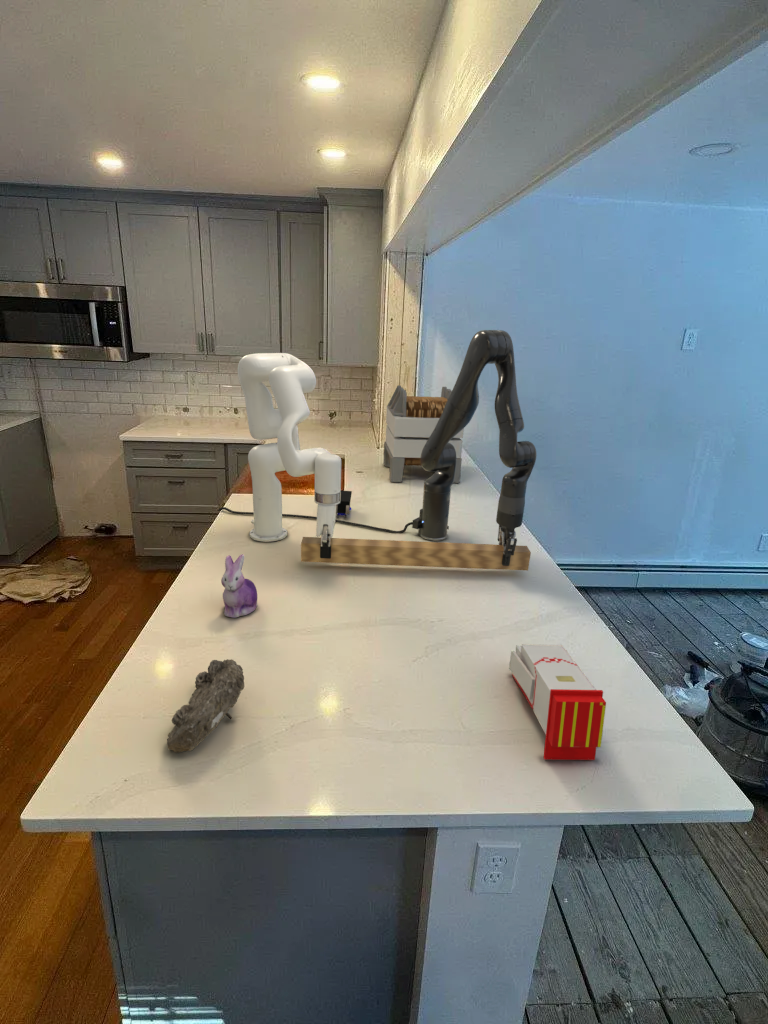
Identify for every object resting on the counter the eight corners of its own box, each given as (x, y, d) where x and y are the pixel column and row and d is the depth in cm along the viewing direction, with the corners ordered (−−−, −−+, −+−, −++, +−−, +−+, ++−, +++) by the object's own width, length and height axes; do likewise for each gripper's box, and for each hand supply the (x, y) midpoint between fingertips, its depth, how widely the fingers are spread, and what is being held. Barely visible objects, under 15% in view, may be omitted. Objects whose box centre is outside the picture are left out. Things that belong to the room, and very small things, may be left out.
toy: (558, 627, 126) (616, 698, 97) (552, 682, 129) (607, 767, 99) (504, 626, 126) (545, 697, 96) (499, 681, 128) (538, 766, 99)
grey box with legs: (382, 463, 289) (386, 382, 275) (445, 464, 293) (451, 384, 279) (390, 482, 257) (394, 392, 243) (460, 483, 261) (468, 394, 247)
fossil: (192, 660, 117) (244, 628, 112) (224, 691, 120) (276, 661, 115) (142, 746, 98) (202, 712, 93) (182, 779, 101) (242, 748, 96)
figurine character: (350, 524, 210) (352, 506, 224) (350, 505, 207) (352, 488, 220) (332, 523, 210) (335, 505, 224) (332, 505, 207) (335, 488, 220)
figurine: (226, 622, 140) (223, 567, 134) (217, 603, 148) (214, 551, 143) (264, 615, 144) (262, 561, 139) (253, 597, 152) (251, 545, 147)
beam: (524, 563, 175) (526, 545, 172) (528, 570, 170) (530, 552, 168) (303, 554, 173) (302, 536, 171) (301, 561, 168) (301, 543, 166)
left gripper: (317, 487, 171) (316, 542, 178) (311, 506, 156) (310, 566, 162) (342, 488, 172) (340, 543, 178) (338, 507, 156) (336, 567, 162)
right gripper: (493, 500, 172) (486, 551, 178) (503, 517, 159) (495, 571, 165) (517, 501, 172) (510, 552, 178) (529, 518, 159) (521, 572, 165)
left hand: (326, 553), depth 170 cm, fingers closed on beam, 4 cm apart
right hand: (503, 561), depth 171 cm, fingers closed on beam, 5 cm apart
